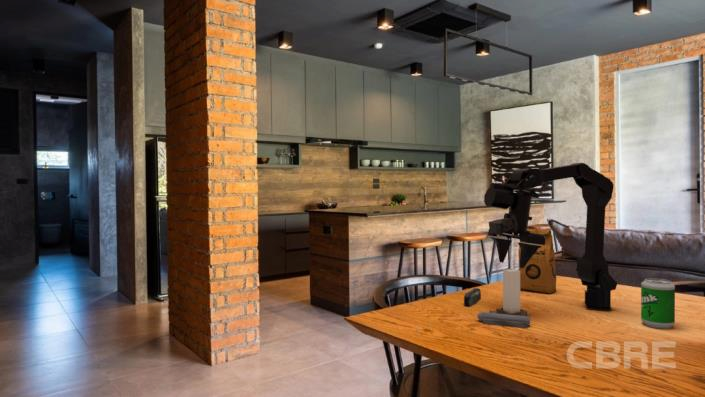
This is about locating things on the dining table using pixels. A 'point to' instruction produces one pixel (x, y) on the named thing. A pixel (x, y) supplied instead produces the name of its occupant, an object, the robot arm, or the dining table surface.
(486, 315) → the grey domed rod
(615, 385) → the dining table surface
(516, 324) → the clamp board
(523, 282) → the coffee package
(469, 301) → the mobile phone
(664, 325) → the soda can
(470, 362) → the dining table surface
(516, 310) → the pin
